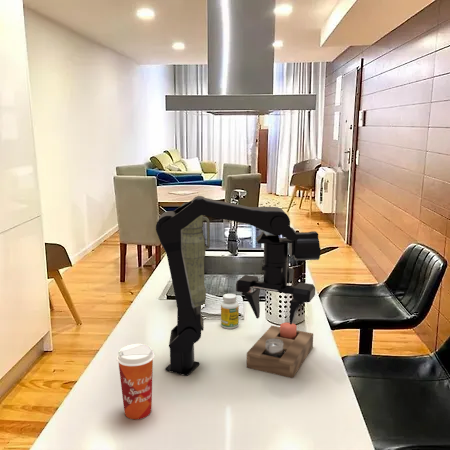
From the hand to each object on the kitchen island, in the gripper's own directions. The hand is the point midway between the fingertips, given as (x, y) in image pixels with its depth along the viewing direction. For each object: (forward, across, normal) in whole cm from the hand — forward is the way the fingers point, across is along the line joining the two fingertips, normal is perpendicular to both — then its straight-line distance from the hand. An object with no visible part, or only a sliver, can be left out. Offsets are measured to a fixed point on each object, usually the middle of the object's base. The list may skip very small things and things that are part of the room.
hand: (274, 320), depth 117 cm
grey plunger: (+9, 0, 0) cm, 9 cm away
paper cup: (+12, +20, +31) cm, 38 cm away
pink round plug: (+9, 0, -11) cm, 14 cm away
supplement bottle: (+12, +20, -17) cm, 29 cm away
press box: (+12, 0, -5) cm, 13 cm away
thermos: (+12, +38, -27) cm, 48 cm away
